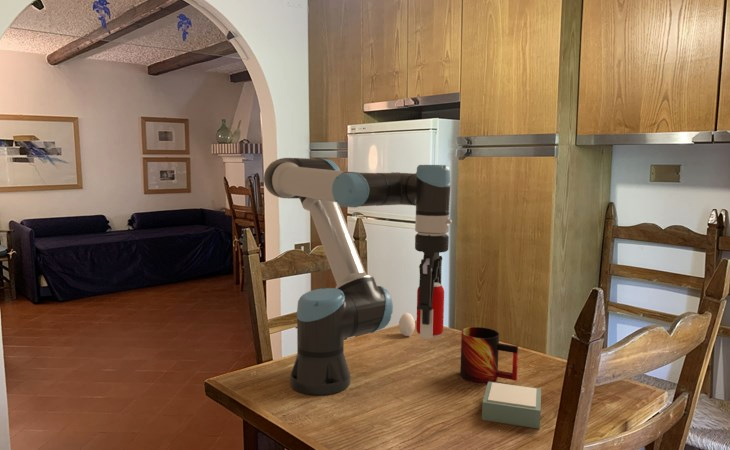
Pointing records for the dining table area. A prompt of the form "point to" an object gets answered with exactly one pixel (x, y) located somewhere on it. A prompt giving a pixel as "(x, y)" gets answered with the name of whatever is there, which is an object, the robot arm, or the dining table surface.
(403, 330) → the egg
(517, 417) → the base
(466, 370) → the mug
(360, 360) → the dining table surface
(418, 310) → the beverage can
